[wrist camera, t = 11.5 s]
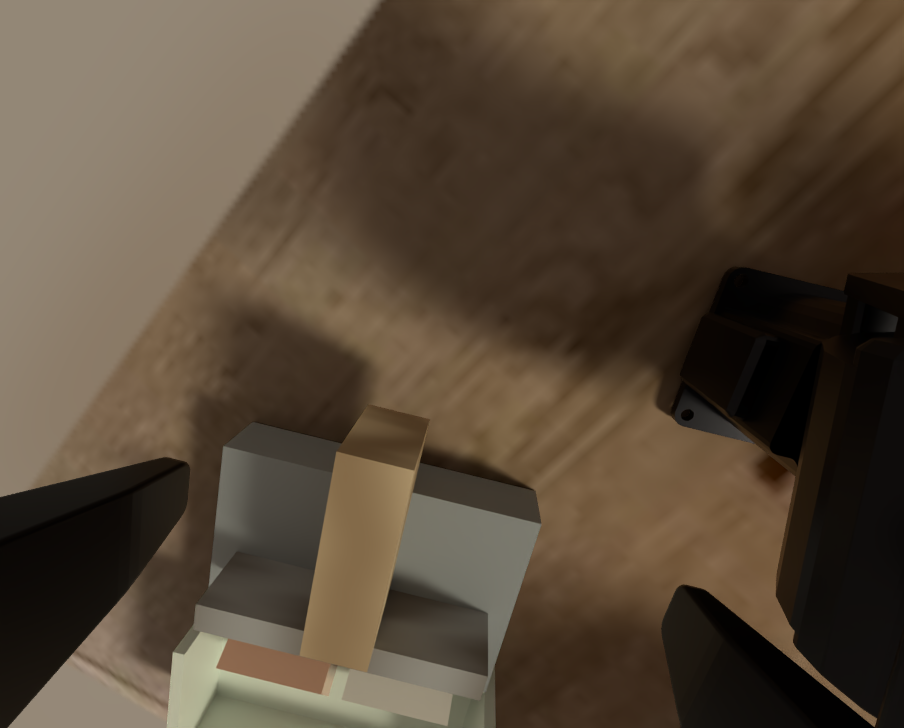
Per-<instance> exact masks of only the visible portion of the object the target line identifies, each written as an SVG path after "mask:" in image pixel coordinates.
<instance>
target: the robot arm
mask: <svg viewBox="0 0 904 728" xmlns="http://www.w3.org/2000/svg"><path fill="white" fill-rule="evenodd" d="M740 274H741V275H742V277H743V282H742V283H741V285H739V286H737V287H736V286H735V284H734V279H735V278H736V276H738V275H740ZM680 376H681V378H682V380H683V381H682V383H681V386H680V388H679V391H678V394H677V396H676V399H675V401H674V404H673V406H672V410H671V415H672V418H673V419H674V420H675V421H676V422H677V423H678V424H679V425H681V426H684V427H688V428H693V429H697V430H701V431H705V432H709V433H713V434H717V435H721V436H725V437H729V438H734V439H738V440H742V441H746V442H750V443H754V444H756V445H758V446H759V447H760V448H761V449H763V450H764V451H765V452H766V453H767V454H769V455H770V456H771V457H772V458H774V459H775V460H776V461H777V462H779V463H780V464H781V465H782V466H783V467H785V468H786V469H787V470H788V471H790V472H791V473H792V474H793V475H795V476H796V477H795V482H794V487H793V493H792V498H791V503H790V508H789V513H788V518H787V523H786V528H785V533H784V539H783V544H782V549H781V554H780V559H779V564H778V569H777V578H776V597H777V599H778V601H779V603H780V605H781V607H782V609H783V612H784V614H785V616H786V618H787V620H788V622H789V624H790V626H791V627H792V628H793V629H794V631H795V633H794V637H793V643H794V645H795V647H796V648H797V649H798V650H799V651H800V652H801V654H802V655H803V656H804V657H805V658H806V659H807V660H808V661H809V662H810V663H811V664H812V665H813V667H814V668H815V669H816V670H817V671H818V672H819V673H820V674H821V675H822V676H823V677H824V678H826V679H827V680H828V681H829V682H830V683H831V684H832V685H834V686H835V687H836V688H837V689H839V690H840V691H841V692H842V693H843V694H845V695H846V696H847V697H848V698H850V699H851V700H852V701H853V702H854V703H856V704H857V705H858V706H859V707H860V708H862V709H863V710H865V711H866V712H868V713H869V714H871V715H872V716H874V717H875V718H877V721H876V725H875V727H873V726H872V725H871V724H870V723H868V722H867V721H866V720H865V719H863V718H862V717H861V716H860V715H859V714H857V713H856V712H855V711H854V710H852V709H851V708H850V707H849V706H848V705H846V704H845V703H844V702H843V701H841V700H840V699H839V698H838V697H836V696H835V695H834V694H833V693H832V692H830V691H829V690H828V689H827V688H825V687H824V686H823V685H822V684H820V683H819V682H818V681H817V680H816V679H814V678H813V677H812V676H811V675H809V674H808V673H807V672H806V671H805V670H803V669H802V668H801V667H800V666H798V665H797V664H796V663H795V662H793V661H792V660H791V659H790V658H789V657H787V656H786V655H785V654H784V653H782V652H781V651H780V650H779V649H777V648H776V647H775V646H774V645H773V644H771V643H770V642H769V641H768V640H766V639H765V638H764V637H763V636H762V635H760V634H759V633H758V632H757V631H755V630H754V629H753V628H752V627H750V626H749V625H748V624H747V623H746V622H744V621H743V620H742V619H741V618H739V617H738V616H737V615H736V614H735V613H733V612H732V611H731V610H730V609H728V608H727V607H726V606H725V605H723V604H722V603H721V602H720V601H719V600H717V599H716V598H715V597H714V596H712V595H711V594H710V593H709V592H707V591H706V590H704V589H701V588H697V587H693V586H689V585H681V586H679V587H678V588H677V589H676V591H675V593H674V595H673V598H672V600H671V602H670V604H669V607H668V609H667V611H666V613H665V616H664V618H663V621H662V628H661V629H662V638H663V643H664V648H665V653H666V658H667V663H668V668H669V673H670V678H671V683H672V688H673V693H674V698H675V703H676V708H677V712H678V717H679V721H680V725H681V728H904V273H849V274H848V275H847V280H846V285H845V290H844V291H841V290H837V289H833V288H829V287H825V286H820V285H816V284H812V283H808V282H804V281H800V280H796V279H791V278H787V277H783V276H779V275H775V274H771V273H767V272H762V271H758V270H754V269H750V268H746V267H733V268H730V269H729V270H728V271H727V272H726V273H725V274H724V276H723V278H722V281H721V283H720V286H719V289H718V291H717V294H716V296H715V299H714V301H713V304H712V306H711V309H710V312H709V313H708V314H706V315H705V316H703V317H702V318H701V321H700V324H699V326H698V329H697V331H696V334H695V337H694V339H693V342H692V344H691V347H690V349H689V352H688V355H687V357H686V360H685V362H684V365H683V368H682V370H681V373H680ZM686 409H690V413H689V415H688V416H686V417H681V413H682V412H683V411H684V410H686ZM189 476H190V467H189V465H188V464H187V462H184V461H180V460H176V459H172V458H168V457H163V458H159V459H155V460H151V461H146V462H142V463H138V464H134V465H130V466H126V467H122V468H118V469H114V470H110V471H105V472H101V473H97V474H93V475H89V476H85V477H81V478H77V479H73V480H69V481H64V482H60V483H56V484H52V485H48V486H44V487H40V488H36V489H32V490H28V491H23V492H19V493H15V494H11V495H7V496H3V497H0V728H8V727H9V725H10V724H11V723H12V722H13V721H14V720H15V719H16V717H17V716H18V715H19V714H20V713H21V712H22V711H23V709H24V708H25V707H26V706H27V705H28V704H29V703H30V701H31V700H32V699H33V698H34V697H35V696H36V695H37V693H38V692H39V691H40V690H41V689H42V688H43V687H44V685H45V684H46V683H47V682H48V681H49V680H50V679H51V677H52V676H53V675H54V674H55V673H56V672H57V671H58V670H59V668H60V667H61V666H62V665H63V664H64V663H65V662H66V661H67V659H68V658H69V657H70V656H71V655H72V654H73V653H74V651H75V650H76V649H77V648H78V647H79V646H80V645H81V643H82V642H83V641H84V640H85V639H86V638H87V637H88V635H89V634H90V633H91V632H92V631H93V630H94V629H95V627H96V626H97V625H98V624H99V623H100V622H101V621H102V620H103V618H104V617H105V616H106V615H107V614H108V613H109V612H110V610H111V609H112V608H113V607H114V606H115V605H116V604H117V602H118V601H119V600H120V599H121V598H122V597H123V595H124V594H125V593H126V592H127V591H128V589H129V588H130V587H131V585H132V584H133V583H134V581H135V580H136V579H137V578H138V576H139V575H140V573H141V572H142V571H143V569H144V568H145V566H146V565H147V564H148V562H149V561H150V559H151V558H152V557H153V555H154V554H155V553H156V551H157V550H158V548H159V547H160V546H161V544H162V543H163V541H164V540H165V539H166V537H167V536H168V534H169V533H170V532H171V530H172V529H173V527H174V526H175V525H176V523H177V522H178V521H179V519H180V518H181V516H182V515H183V513H184V511H185V508H186V505H187V500H188V488H189Z"/></svg>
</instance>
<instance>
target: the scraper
mask: <svg viewBox="0 0 904 728" xmlns="http://www.w3.org/2000/svg"><path fill="white" fill-rule="evenodd" d="M429 421H430V419H426V418H422V417H418V416H414V415H409V414H405V413H401V412H397V411H393V410H389V409H385V408H381V407H377V406H373V405H369V404H368V405H367V407H366V408H365V410H364V411H363V413H362V414H361V416H360V417H359V419H358V420H357V422H356V423H355V425H354V426H353V428H352V429H351V431H350V432H349V434H348V435H347V437H346V438H345V440H344V441H343V443H342V444H341V445H340V447H339V448H338V450H337V451H336V456H335V462H334V467H333V473H332V479H331V484H330V490H329V495H328V501H327V506H326V512H325V517H324V523H323V528H322V534H321V540H320V545H319V551H318V556H317V562H316V567H315V571H314V570H310V569H306V568H302V567H298V566H294V565H290V564H286V563H282V562H278V561H274V560H270V559H266V558H262V557H258V556H254V555H250V554H245V553H241V552H236V553H235V554H234V555H233V557H232V558H231V559H230V561H229V562H228V563H227V565H226V566H225V567H224V568H223V570H222V571H221V572H220V574H219V575H218V576H217V577H216V579H215V580H214V581H213V583H212V584H211V585H210V586H209V588H208V589H207V590H206V592H205V593H204V594H203V595H202V597H201V598H200V599H199V601H198V602H197V603H196V607H195V617H194V627H193V630H196V631H200V632H205V633H209V634H213V635H217V636H221V637H225V638H229V639H233V640H237V641H241V642H245V643H249V644H253V645H257V646H261V647H265V648H269V649H273V650H277V651H281V652H285V653H289V654H293V655H297V656H301V657H305V658H309V659H313V660H317V661H321V662H325V663H329V664H333V665H337V666H341V667H346V668H350V669H354V670H358V671H362V672H366V673H370V674H374V675H378V676H382V677H386V678H390V679H394V680H398V681H402V682H406V683H410V684H414V685H418V686H422V687H426V688H430V689H434V690H438V691H442V692H446V693H450V694H454V695H458V696H462V697H466V698H470V699H474V700H478V701H480V700H481V697H482V694H483V691H484V688H485V684H486V681H487V678H488V613H484V612H480V611H476V610H472V609H468V608H464V607H460V606H456V605H452V604H448V603H444V602H440V601H436V600H432V599H428V598H423V597H419V596H415V595H411V594H407V593H403V592H399V591H395V590H391V589H390V586H391V581H392V577H393V573H394V569H395V564H396V560H397V556H398V552H399V548H400V543H401V539H402V535H403V531H404V527H405V522H406V518H407V514H408V510H409V505H410V501H411V497H412V493H413V489H414V484H415V480H416V476H417V472H418V468H419V463H420V459H421V455H422V451H423V446H424V442H425V438H426V434H427V430H428V425H429Z"/></svg>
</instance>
